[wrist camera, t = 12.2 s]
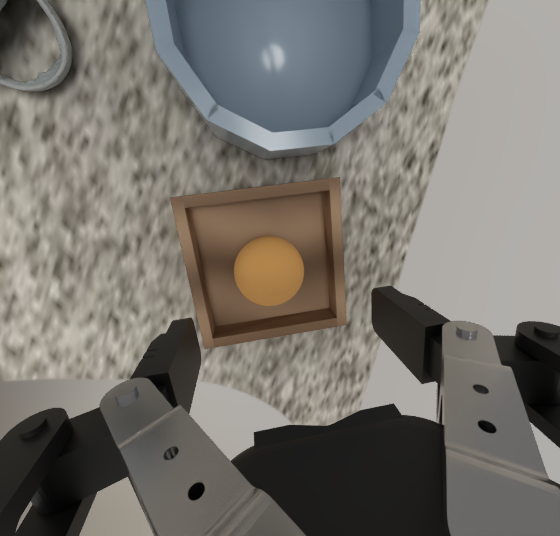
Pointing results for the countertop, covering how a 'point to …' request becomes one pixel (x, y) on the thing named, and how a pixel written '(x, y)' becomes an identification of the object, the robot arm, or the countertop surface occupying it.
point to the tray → (246, 227)
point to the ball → (268, 271)
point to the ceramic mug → (59, 68)
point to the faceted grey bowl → (284, 65)
